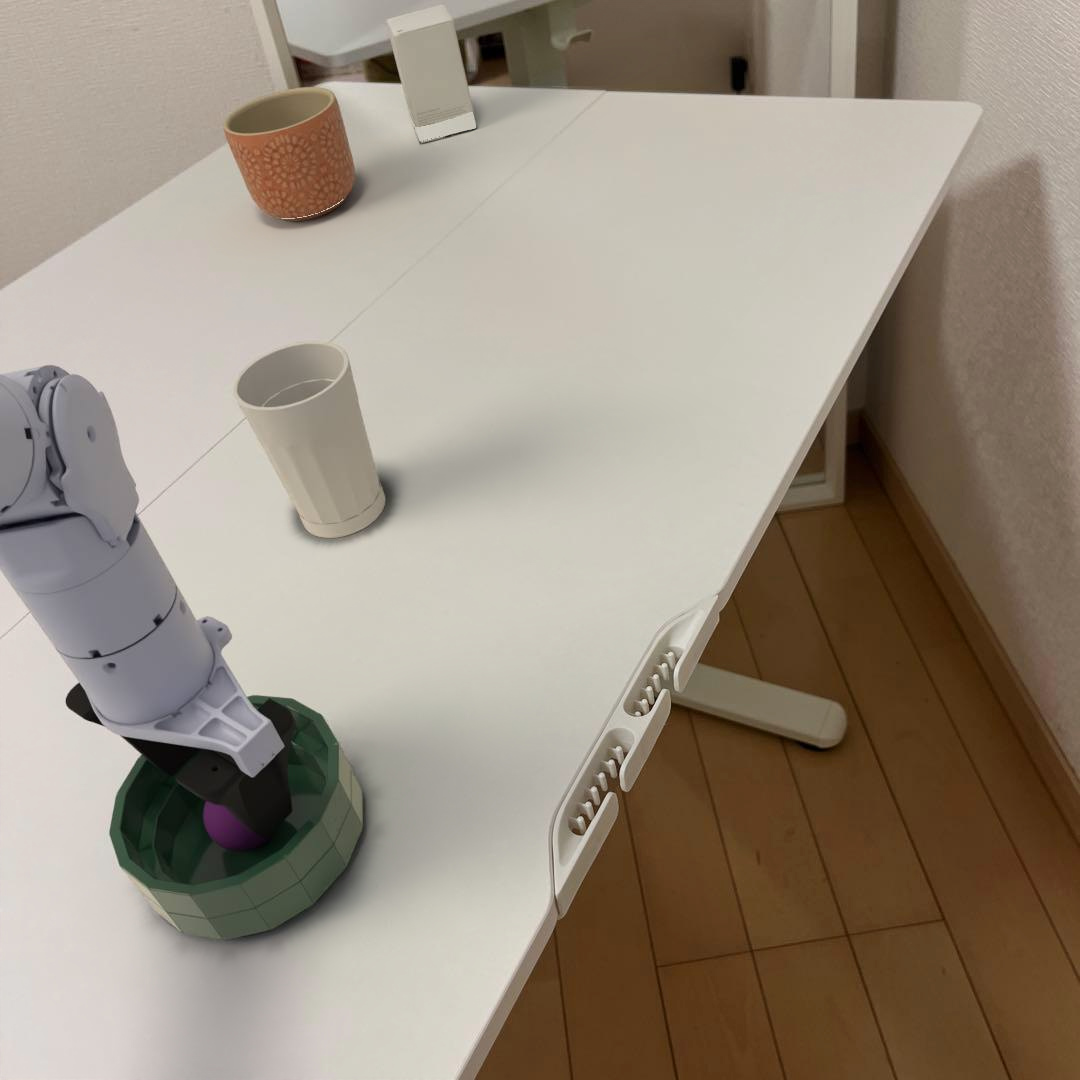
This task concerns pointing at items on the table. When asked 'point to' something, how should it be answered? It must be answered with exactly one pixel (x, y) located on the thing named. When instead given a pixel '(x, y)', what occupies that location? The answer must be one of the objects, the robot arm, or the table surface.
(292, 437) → the cup
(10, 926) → the table surface
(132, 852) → the bowl
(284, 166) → the planter
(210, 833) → the ball
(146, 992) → the table surface
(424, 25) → the white packaging box
